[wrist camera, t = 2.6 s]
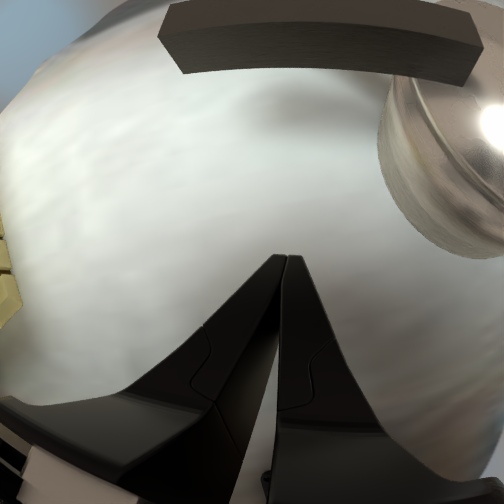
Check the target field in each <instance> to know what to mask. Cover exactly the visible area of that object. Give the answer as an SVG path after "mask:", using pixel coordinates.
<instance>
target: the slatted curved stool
mask: <svg viewBox="0 0 504 504" xmlns="http://www.w3.org/2000/svg"><path fill="white" fill-rule="evenodd" d="M3 236H4V230H3V225H2V220H1V214H0V329H1V328H2V327H3V325H4V324H5V323H6V322H7V321H8V320H9V319H10V318H11V317H12V316H13V315H14V314H15V313H16V312H17V311H18V310H19V309H20V308H21V307H22V306H23V303H22V300H21V297H20V293H19V290H18V287H17V283H16V280H15V276H14V275H10V270H11V269H12V265H11V261H10V257H9V253H8V249H7V244H6V241H4V240H2V237H3Z"/></svg>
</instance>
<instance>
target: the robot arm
mask: <svg viewBox="0 0 504 504" xmlns="http://www.w3.org/2000/svg"><path fill="white" fill-rule="evenodd" d="M278 343H279V363H278V392H277V416H276V432H275V442H274V450H273V458H272V465H271V472H265V473H263V474H262V476H261V483H262V486H263V489H264V493H265V496H266V499H267V501H266V504H504V484H503V483H502V482H501V481H500V480H499V479H498V478H497V477H488V478H481V479H476V480H471V481H464V482H457V481H451V480H448V479H445V478H443V477H441V476H440V475H438V474H436V473H435V472H434V471H432V470H431V469H430V468H429V467H427V466H426V465H425V464H424V463H422V462H421V461H420V460H418V459H417V458H416V457H415V456H413V455H412V454H411V453H410V452H408V451H407V450H406V449H405V448H404V447H402V446H401V445H400V444H399V443H397V442H396V441H395V440H394V439H393V438H392V437H391V436H390V435H389V434H388V433H387V432H386V431H385V430H384V428H383V427H382V425H381V424H380V422H379V421H378V419H377V417H376V415H375V414H374V412H373V410H372V408H371V407H370V405H369V403H368V401H367V399H366V398H365V396H364V394H363V392H362V391H361V389H360V387H359V385H358V384H357V382H356V380H355V378H354V376H353V374H352V372H351V370H350V369H349V367H348V365H347V362H346V360H345V358H344V356H343V353H342V351H341V349H340V346H339V344H338V341H337V339H336V336H335V334H334V331H333V329H332V326H331V324H330V321H329V319H328V316H327V314H326V311H325V309H324V306H323V304H322V302H321V299H320V297H319V294H318V292H317V289H316V287H315V285H314V282H313V280H312V277H311V275H310V273H309V270H308V268H307V266H306V263H305V261H304V259H303V257H302V256H301V255H288V256H287V255H285V254H273V255H271V256H270V257H269V258H268V259H267V260H266V261H265V262H264V263H263V264H262V265H261V267H260V268H259V269H258V270H257V271H256V272H255V273H254V274H253V275H252V276H251V277H250V278H249V279H248V280H247V281H246V282H245V283H244V284H243V285H242V286H241V287H240V288H239V289H238V290H237V291H236V292H235V293H234V294H233V295H232V296H231V297H230V298H229V299H228V300H227V301H226V302H225V303H224V304H223V305H222V306H221V307H220V308H219V309H218V310H217V311H216V312H215V313H214V314H213V315H212V316H211V317H210V318H209V319H208V320H207V321H206V322H205V323H204V324H203V327H202V326H201V327H199V328H198V329H197V330H196V331H195V332H194V333H193V334H192V335H191V336H190V337H189V338H188V339H187V340H186V341H185V342H184V343H183V344H182V345H181V346H179V347H178V348H177V349H176V350H175V351H173V352H172V353H171V354H170V355H169V356H167V357H166V358H165V359H164V360H162V361H161V362H160V363H158V364H157V365H156V366H155V367H153V368H152V369H151V370H149V371H148V372H147V373H146V374H144V375H143V376H142V377H140V378H139V379H138V380H136V381H135V382H134V383H132V384H131V385H130V386H128V387H127V388H125V389H123V390H121V391H119V392H117V393H115V394H112V395H108V396H103V397H98V398H92V399H86V400H80V401H74V402H67V403H61V404H54V405H44V406H38V405H30V404H26V403H24V402H22V401H20V400H19V399H17V398H15V397H13V396H6V397H1V398H0V423H2V424H3V425H4V426H6V427H7V428H8V429H10V430H11V431H12V432H14V433H15V434H17V435H18V436H19V437H21V438H22V439H24V440H25V441H26V442H28V443H29V444H31V445H32V448H31V450H30V452H29V454H28V456H26V455H25V454H23V453H22V452H20V451H19V450H17V449H16V448H15V447H13V446H12V445H10V444H9V443H8V442H6V441H5V440H3V439H2V438H1V437H0V504H229V501H230V498H231V496H232V493H233V490H234V487H235V484H236V481H237V478H238V475H239V472H240V469H241V466H242V463H243V460H244V457H245V454H246V450H247V447H248V444H249V441H250V438H251V435H252V432H253V428H254V425H255V422H256V419H257V415H258V412H259V409H260V405H261V402H262V399H263V395H264V392H265V389H266V385H267V382H268V378H269V375H270V371H271V368H272V364H273V361H274V357H275V354H276V350H277V347H278ZM265 477H268V478H270V479H265Z"/></svg>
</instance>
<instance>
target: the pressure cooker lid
mask: <svg viewBox="0 0 504 504" xmlns="http://www.w3.org/2000/svg"><path fill="white" fill-rule="evenodd" d="M157 37H158V38H159V40H160V41H161V43H162V44H163V45H164V47H165V48H166V50H167V51H168V53H169V54H170V55H171V57H172V58H173V60H174V61H175V63H176V64H177V66H178V67H179V68H180V70H181V71H182V73H183V74H190V73H199V72H209V71H220V70H233V69H252V68H324V69H342V70H355V71H366V72H376V73H384V74H392V75H399V76H406V77H408V80H409V84H410V88H411V91H412V94H413V96H414V99H415V102H416V105H417V107H418V109H419V111H420V113H421V115H422V117H423V120H424V122H425V123H426V125H427V127H428V128H429V130H430V132H431V134H432V135H433V137H434V139H435V140H436V142H437V143H438V144H439V146H440V147H441V149H442V150H443V152H444V153H445V155H446V156H447V157H448V159H449V160H450V161H451V162H452V164H453V165H454V166H455V167H456V169H457V170H458V171H459V172H460V174H461V175H462V176H463V177H464V178H465V179H466V180H467V181H468V182H469V183H470V184H471V185H472V187H473V188H474V189H475V190H477V191H478V192H479V193H480V194H481V195H482V196H483V197H484V198H485V199H486V200H487V201H488V202H490V203H491V204H492V205H494V206H495V207H496V208H497V209H499V210H500V211H501V212H503V213H504V9H502V8H500V7H497V6H495V5H492V4H489V3H485V2H482V1H477V0H442V1H439V2H436V3H429V2H425V1H420V0H189V1H184V2H179V3H175V4H170V6H169V9H168V11H167V13H166V16H165V18H164V21H163V23H162V26H161V28H160V31H159V33H158V36H157Z"/></svg>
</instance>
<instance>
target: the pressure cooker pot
mask: <svg viewBox="0 0 504 504" xmlns="http://www.w3.org/2000/svg"><path fill="white" fill-rule="evenodd" d="M377 147H378V157H379V162H380V167H381V171H382V174H383V177H384V180H385V183H386V185H387V187H388V189H389V191H390V194H391V196H392V198H393V199H394V201H395V202H396V204H397V206H398V208H399V209H400V210H401V212H402V213H403V214H404V216H405V217H406V218H407V220H408V221H409V222H410V223H411V224H412V225H413V226H414V227H415V228H416V229H417V230H418V231H419V232H420V233H421V234H422V235H423V236H425V237H426V238H427V239H428V240H430V241H431V242H433V243H434V244H436V245H437V246H438V247H440V248H442V249H444V250H446V251H448V252H450V253H453V254H456V255H459V256H461V257H466V258H472V259H488V258H494V257H499V256H503V255H504V213H503V212H501V211H500V210H499V209H497V208H496V207H495V206H494V205H492V204H491V203H490V202H488V201H487V200H486V199H485V198H484V197H483V196H482V195H481V194H480V193H479V192H478V191H477V190H475V189H474V188H473V187H472V185H471V184H470V183H469V182H468V181H467V180H466V179H465V178H464V177H463V176H462V175H461V174H460V172H459V171H458V170H457V169H456V167H455V166H454V165H453V164H452V162H451V161H450V160H449V159H448V157H447V156H446V155H445V153H444V152H443V150H442V149H441V147H440V146H439V144H438V143H437V142H436V140H435V139H434V137H433V135H432V134H431V132H430V130H429V128H428V127H427V125H426V123H425V122H424V120H423V117H422V115H421V113H420V111H419V109H418V107H417V105H416V102H415V99H414V96H413V94H412V91H411V88H410V84H409V80H408V77H406V76H399V75H393V76H392V80H391V84H390V88H389V92H388V95H387V99H386V103H385V106H384V110H383V113H382V117H381V120H380V125H379V130H378V143H377Z"/></svg>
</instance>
